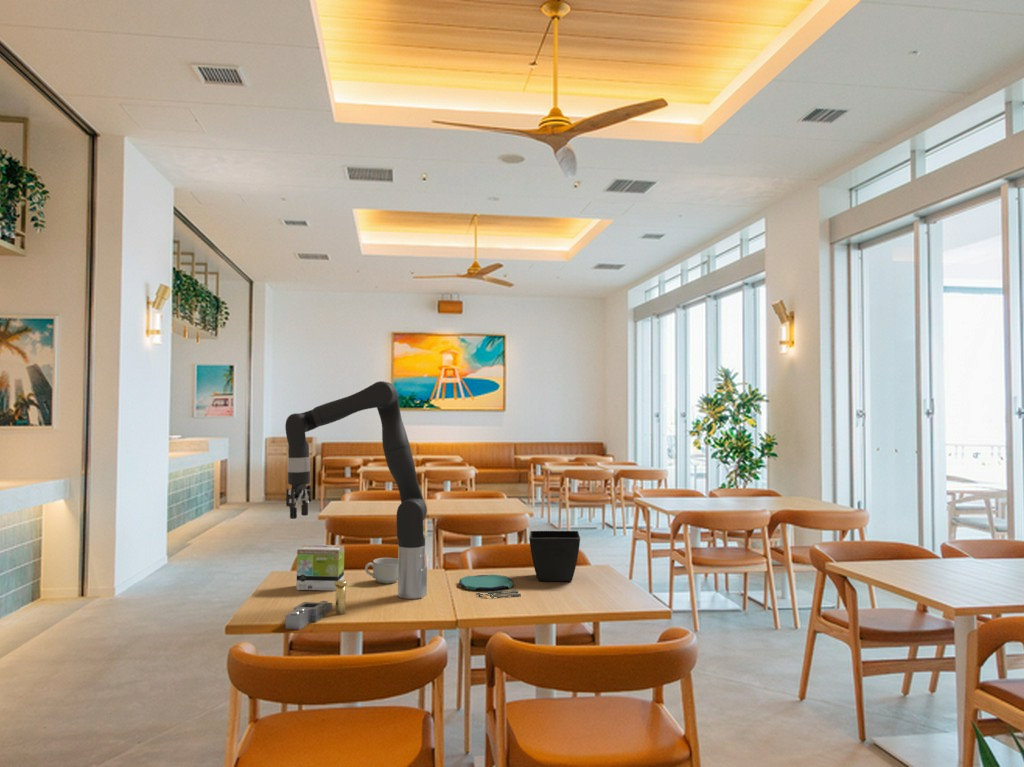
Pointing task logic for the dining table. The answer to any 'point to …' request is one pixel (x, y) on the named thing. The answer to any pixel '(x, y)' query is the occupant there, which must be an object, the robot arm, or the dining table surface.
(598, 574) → the dining table surface
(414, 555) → the robot arm
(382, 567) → the teacup
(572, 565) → the flower pot
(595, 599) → the dining table surface
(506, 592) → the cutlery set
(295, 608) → the grey studded bar
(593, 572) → the dining table surface
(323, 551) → the tea box
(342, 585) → the pin
